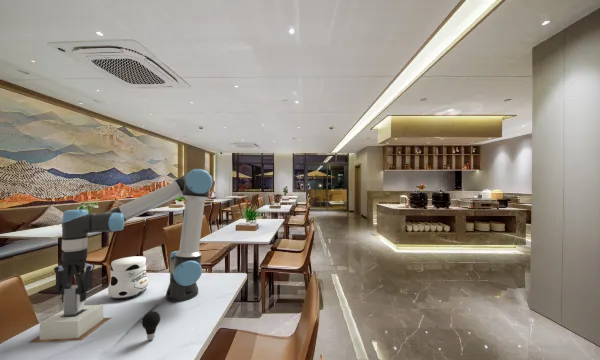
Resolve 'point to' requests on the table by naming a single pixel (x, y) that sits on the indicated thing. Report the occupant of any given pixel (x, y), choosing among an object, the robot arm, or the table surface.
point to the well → (71, 323)
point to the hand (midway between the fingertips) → (73, 310)
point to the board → (73, 338)
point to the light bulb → (151, 323)
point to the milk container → (128, 277)
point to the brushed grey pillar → (71, 301)
